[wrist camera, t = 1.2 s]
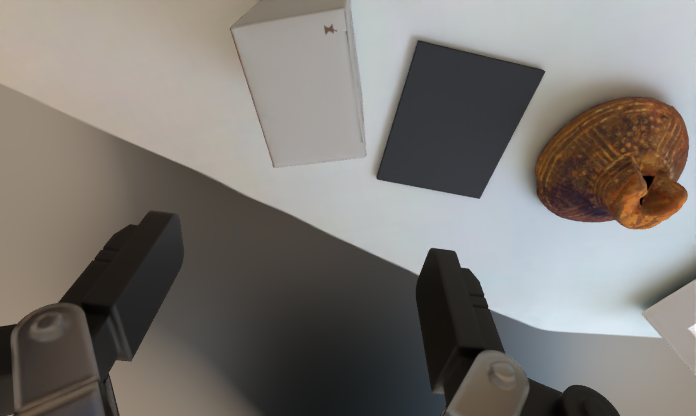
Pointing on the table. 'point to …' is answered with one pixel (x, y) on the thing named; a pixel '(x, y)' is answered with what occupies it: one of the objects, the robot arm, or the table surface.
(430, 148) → the coaster
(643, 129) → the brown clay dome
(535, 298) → the table surface
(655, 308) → the bracket
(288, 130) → the small box
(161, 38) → the table surface
